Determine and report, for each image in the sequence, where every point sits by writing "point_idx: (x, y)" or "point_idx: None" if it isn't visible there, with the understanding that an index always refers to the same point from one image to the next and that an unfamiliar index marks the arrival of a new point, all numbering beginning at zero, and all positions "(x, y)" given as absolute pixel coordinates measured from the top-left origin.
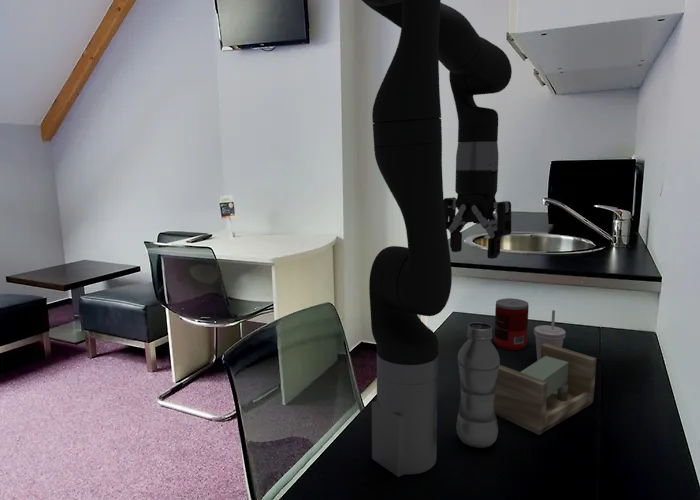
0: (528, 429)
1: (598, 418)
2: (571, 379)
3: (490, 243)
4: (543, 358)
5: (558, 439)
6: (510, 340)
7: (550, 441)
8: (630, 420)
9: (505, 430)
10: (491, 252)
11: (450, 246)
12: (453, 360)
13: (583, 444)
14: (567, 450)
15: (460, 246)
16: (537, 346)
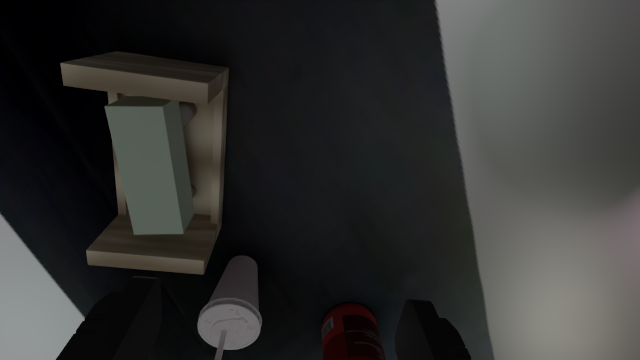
0: (139, 54)
1: (93, 173)
2: None
3: (93, 348)
4: (178, 220)
5: None
6: (338, 318)
7: (92, 44)
8: (60, 199)
9: (165, 23)
10: (119, 303)
11: (453, 327)
12: (395, 209)
13: (53, 74)
14: (56, 35)
15: (402, 358)
16: (247, 287)
